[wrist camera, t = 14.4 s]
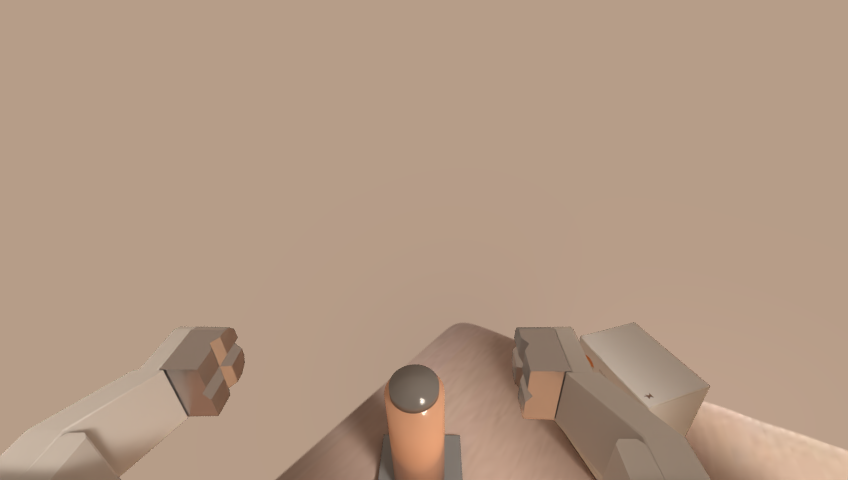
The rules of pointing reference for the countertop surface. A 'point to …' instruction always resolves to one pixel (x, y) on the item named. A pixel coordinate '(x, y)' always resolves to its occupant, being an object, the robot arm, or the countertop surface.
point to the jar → (416, 423)
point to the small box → (645, 376)
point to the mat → (451, 459)
